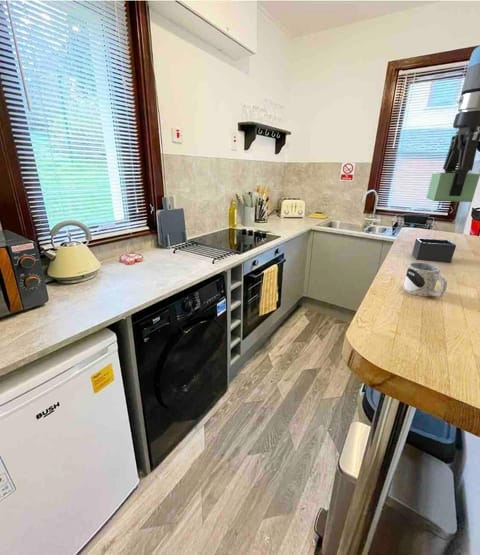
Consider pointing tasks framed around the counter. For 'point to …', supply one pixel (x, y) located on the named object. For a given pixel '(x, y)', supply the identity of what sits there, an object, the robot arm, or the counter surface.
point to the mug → (423, 280)
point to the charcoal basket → (433, 250)
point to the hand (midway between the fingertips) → (449, 194)
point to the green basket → (443, 184)
